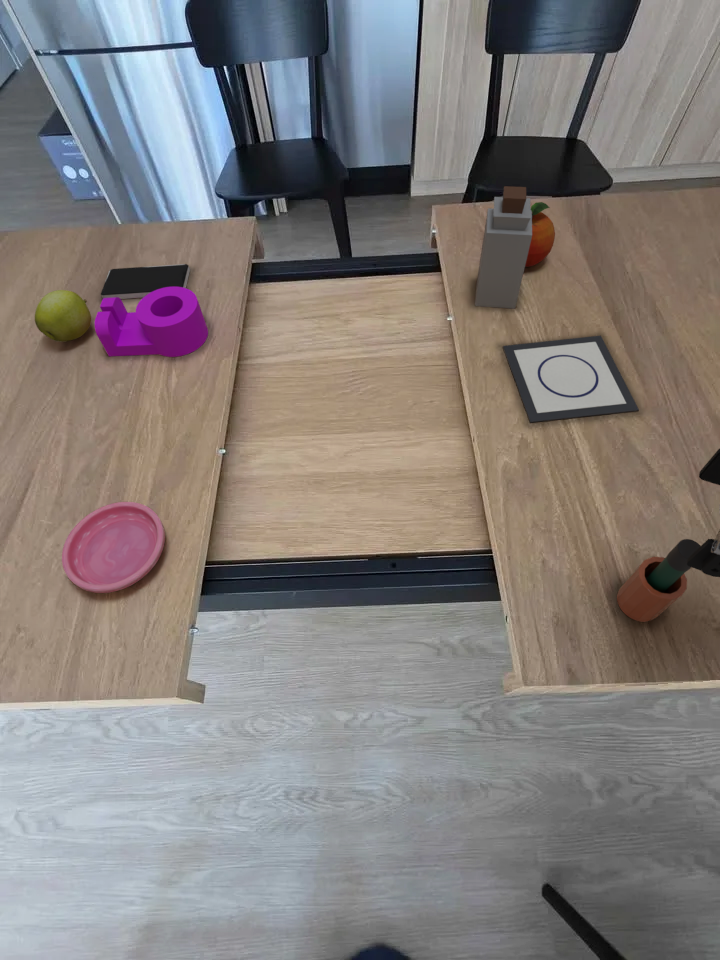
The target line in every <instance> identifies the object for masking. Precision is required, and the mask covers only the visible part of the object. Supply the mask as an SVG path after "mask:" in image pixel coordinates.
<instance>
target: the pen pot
mask: <svg viewBox="0 0 720 960" xmlns="http://www.w3.org/2000/svg"><path fill="white" fill-rule="evenodd" d="M665 558H666V557H663V556H651V557H648V558H646V559H644V560H643V561H642V562H641V563H640V564H639V566H638V567H637V568H636V569H635V570H634V571H633V573H632V574H631V575H630V576H629V577H628V578H627V579H626V580H625V582H624V583H623V584H622V585H621V587H620V588H618V591H617V593H616V600H617V604H618V607H619V608H620V610H621V612H623V614H625V616H627V617H628V618H630V619H631V620H634V621H637V622H643V623H644V622H646V623H647V622H651V621H653V620H655V619H657V618H658V617H659V616H660V615H661V614H663V613H664V612H665V611H666V610H667V609H668V608H669V607H671V606H672V605H673V604H674V603H675V602H676V601H677V600H679V599H680V598H681V597H682V596H683V595H684V594H685V592H686V590H687V588H688V578H687V576H686V574H685V573H684V574H683V575H682V576H681V577H680V578H679V579H678V580H676V581H675V582H674V583H673V584H672V585H671V586H670V587H669V588H668V589H667V590H666V591H665V592H664V593H661V592H659V591H657V590H655V589H653V588H652V587H651V586H650V585H649V584H648V583H647V580H646V578H647V577H648V576H649V575H650V574H651V573H652V571H653V570H654V569H655V568H656V567H657V566H658V565H659V564H660V563H661V562H662V561H663V560H664V559H665Z"/></svg>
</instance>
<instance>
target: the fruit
mask: <svg viewBox="0 0 720 960" xmlns="http://www.w3.org/2000/svg"><path fill="white" fill-rule="evenodd" d="M530 207H531V210H532V238H531V243H530V247H529V251H528V256H527V260H526V264H525V268H526V267H527V268H529V267H534V266H536V265H537V264H539V263H540V262H543V261H544V260H545V259H546V257H548V255H549V254H550V253H551V251H552V249H553V247H554V243H555V237H556V231H555V226H554V222H553V221H552V220H551V218H550V217H549V216H548V215H546V214H545V213H544V210H547V209H551V207H550V206H549V205H548V204H547V203H545V202H543V201H539V202H537V201H536V202H535V203H533V204H532V205H530ZM542 211H543V212H542Z"/></svg>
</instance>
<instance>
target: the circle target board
mask: <svg viewBox="0 0 720 960" xmlns="http://www.w3.org/2000/svg"><path fill="white" fill-rule="evenodd" d="M502 348H503V352H504V354H505V358H506V360H507V363H508V366H509V369H510V371H511V374H512V377H513V380H514V383H515V386H516V388H517V391H518V394H519V397H520V399H521V403H522V405H523V407H524V410H525V413H526V416H527V418H528V421H529V423H530V424H535V423H545V422H551V421H553V422H554V421H561V420H570V419H578V418H579V419H580V418H588V417H598V416H607V415H616V414H625V413H632V412H634V413H635V412H639V411H640V409H639V407H638V405H637V403H636V400H635V399H634V397H633V395H632V393H631V392H630V389H629V387H628V385H627V384H626V381H625V380H624V377H623V375H622V374H621V372H620V370H619V367H618V366H617V364H616V362H615V361H614V358H613V356H612V355H611V352H610V350H609V348H608V346H607V345H606V343H605V341H604V339H603V337H602V335H592V336H583V337H582V336H581V337H574V338H573V337H572V338H565V339H564V338H563V339H553V340H545V341H535V342H527V343H526V342H525V343H517V344H507V345H503V346H502Z"/></svg>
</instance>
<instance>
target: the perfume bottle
mask: <svg viewBox="0 0 720 960" xmlns="http://www.w3.org/2000/svg"><path fill="white" fill-rule="evenodd" d="M493 197H494V198H493V199H494V200H493V208H492V207H491V208H489V207H488V208H487V212H486V218H485V225H484V232H483V237H482V244H481V251H480V258H479V264H478V271H477V278H476V285H475V286H476V287H475V298H474V299H475V301H474V306H475V307H484V308H501V309H514V310H516V307H517V304H518V303H517V302H518V299H519V294H520V289H521V286H522V281H523V277H524V272H525V268H526V267H525V264H526V260H527V256H528V251H529V247H530V243H531V238H532V210H531V198H530V197H527V187H526V186H512V185H511V186H506V185H504V186H503V192H502V196H493Z"/></svg>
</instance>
